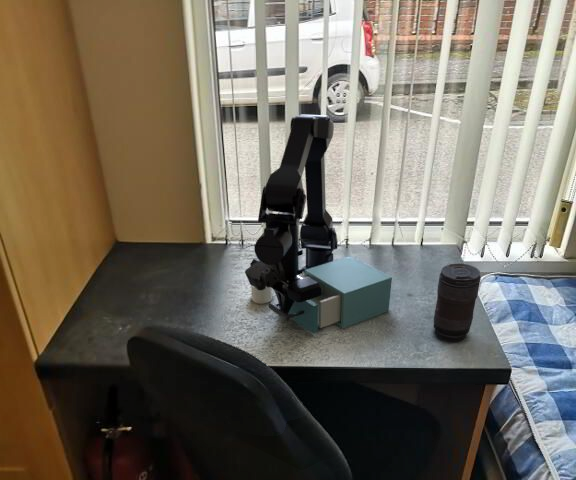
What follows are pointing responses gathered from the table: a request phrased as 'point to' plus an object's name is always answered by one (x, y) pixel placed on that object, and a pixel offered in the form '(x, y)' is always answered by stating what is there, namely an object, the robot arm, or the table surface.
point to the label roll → (261, 295)
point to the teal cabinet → (355, 288)
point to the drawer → (314, 310)
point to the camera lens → (456, 301)
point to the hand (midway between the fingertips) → (285, 313)
